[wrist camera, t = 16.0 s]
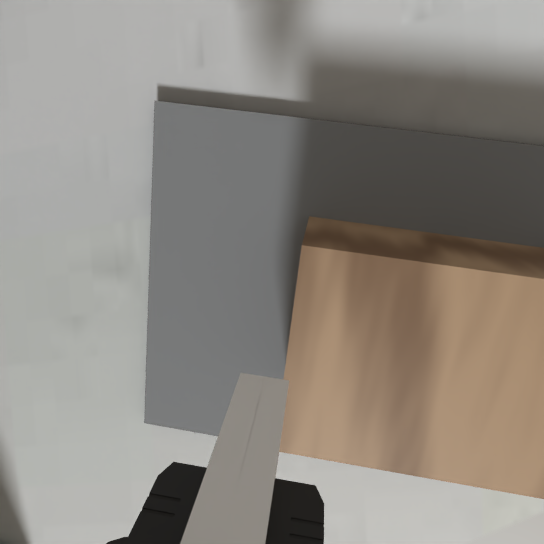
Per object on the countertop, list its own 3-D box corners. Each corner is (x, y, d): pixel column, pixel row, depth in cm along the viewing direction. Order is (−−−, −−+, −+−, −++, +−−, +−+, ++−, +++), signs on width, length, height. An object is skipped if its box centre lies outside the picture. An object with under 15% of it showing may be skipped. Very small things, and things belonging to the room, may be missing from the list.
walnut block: (273, 450, 19) (569, 503, 18) (301, 245, 17) (651, 294, 16) (286, 378, 25) (512, 415, 24) (309, 216, 22) (565, 250, 21)
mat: (148, 417, 28) (144, 423, 27) (159, 101, 22) (154, 100, 22) (523, 483, 26) (528, 491, 25) (637, 157, 20) (646, 157, 20)
